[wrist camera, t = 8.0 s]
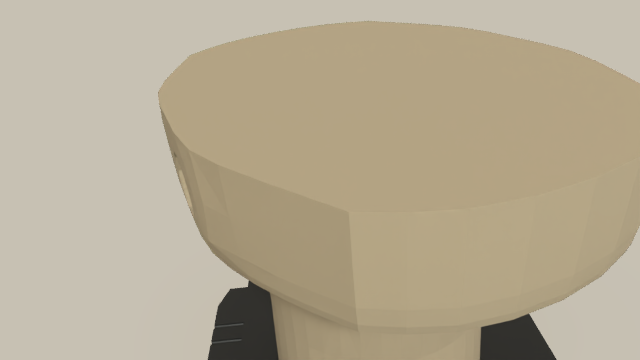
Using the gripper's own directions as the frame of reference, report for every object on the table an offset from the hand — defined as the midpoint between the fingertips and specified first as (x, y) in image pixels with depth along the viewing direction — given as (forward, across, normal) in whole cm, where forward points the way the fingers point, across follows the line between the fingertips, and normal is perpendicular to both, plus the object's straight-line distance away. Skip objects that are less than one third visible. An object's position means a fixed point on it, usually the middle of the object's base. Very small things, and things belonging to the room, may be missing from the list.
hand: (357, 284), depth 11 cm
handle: (-3, 0, +9) cm, 10 cm away
